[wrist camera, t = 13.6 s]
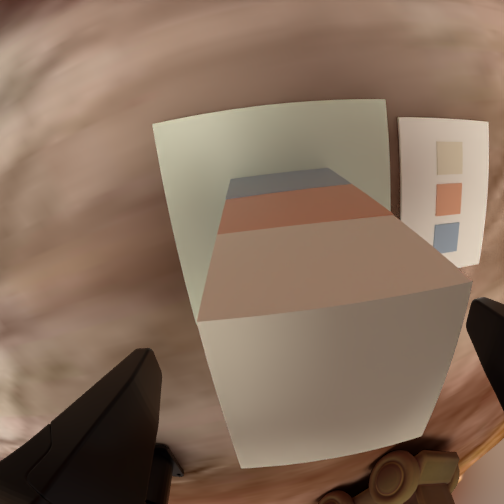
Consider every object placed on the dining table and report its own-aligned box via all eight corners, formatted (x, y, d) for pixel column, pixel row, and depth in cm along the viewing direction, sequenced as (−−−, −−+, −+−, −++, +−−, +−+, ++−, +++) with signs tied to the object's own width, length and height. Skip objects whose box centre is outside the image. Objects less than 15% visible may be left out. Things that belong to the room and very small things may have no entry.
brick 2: (381, 349, 11) (421, 436, 7) (242, 369, 11) (241, 468, 7) (392, 215, 9) (472, 281, 5) (216, 234, 9) (196, 321, 5)
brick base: (332, 256, 18) (352, 292, 14) (244, 267, 18) (243, 307, 14) (328, 167, 16) (351, 183, 12) (230, 179, 16) (225, 197, 12)
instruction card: (477, 262, 19) (479, 264, 19) (396, 277, 19) (398, 279, 19) (486, 121, 15) (489, 121, 15) (397, 117, 15) (399, 117, 15)
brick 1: (354, 292, 14) (383, 348, 11) (245, 308, 14) (244, 370, 11) (351, 183, 12) (392, 213, 9) (226, 199, 12) (216, 236, 9)
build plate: (381, 293, 20) (386, 299, 19) (197, 317, 20) (196, 324, 20) (379, 99, 15) (385, 99, 14) (156, 123, 16) (152, 124, 15)
